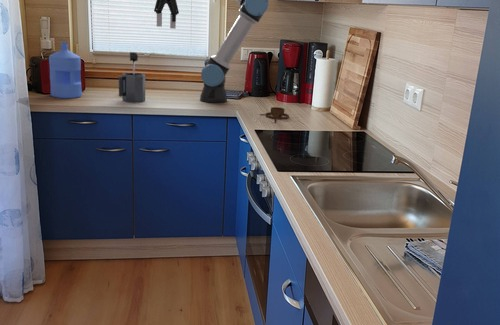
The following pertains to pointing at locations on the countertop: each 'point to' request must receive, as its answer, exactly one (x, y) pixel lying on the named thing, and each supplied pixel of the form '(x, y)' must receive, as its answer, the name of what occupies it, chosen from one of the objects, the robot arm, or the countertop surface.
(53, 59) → the water jug
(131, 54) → the plunger
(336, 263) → the countertop surface
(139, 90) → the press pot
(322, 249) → the countertop surface
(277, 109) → the place setting
